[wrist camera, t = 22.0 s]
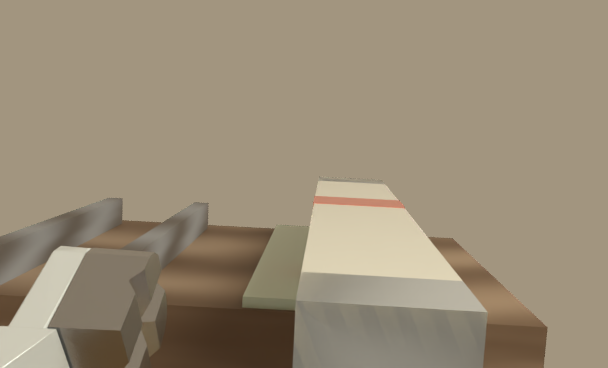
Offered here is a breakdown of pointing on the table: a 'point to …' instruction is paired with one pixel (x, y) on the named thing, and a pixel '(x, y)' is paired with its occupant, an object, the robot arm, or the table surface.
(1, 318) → the cabinet
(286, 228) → the plate
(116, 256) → the robot arm
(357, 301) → the red-banded cream beam
